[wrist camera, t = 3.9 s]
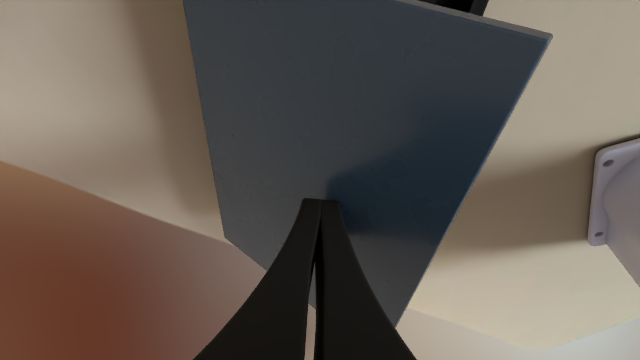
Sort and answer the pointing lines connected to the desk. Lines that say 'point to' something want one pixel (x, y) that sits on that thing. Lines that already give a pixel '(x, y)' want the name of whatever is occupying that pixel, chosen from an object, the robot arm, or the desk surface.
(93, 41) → the desk surface
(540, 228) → the desk surface
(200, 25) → the cover
